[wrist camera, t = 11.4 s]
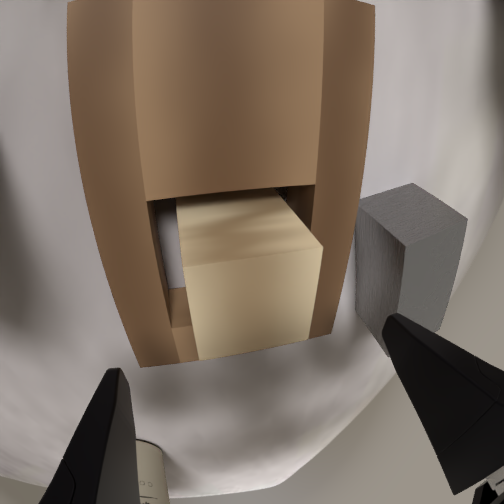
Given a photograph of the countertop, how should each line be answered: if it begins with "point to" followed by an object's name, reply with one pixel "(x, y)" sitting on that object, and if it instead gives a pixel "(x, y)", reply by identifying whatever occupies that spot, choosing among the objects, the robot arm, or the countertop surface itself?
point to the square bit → (246, 271)
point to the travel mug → (151, 474)
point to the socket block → (216, 133)
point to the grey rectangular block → (405, 257)
